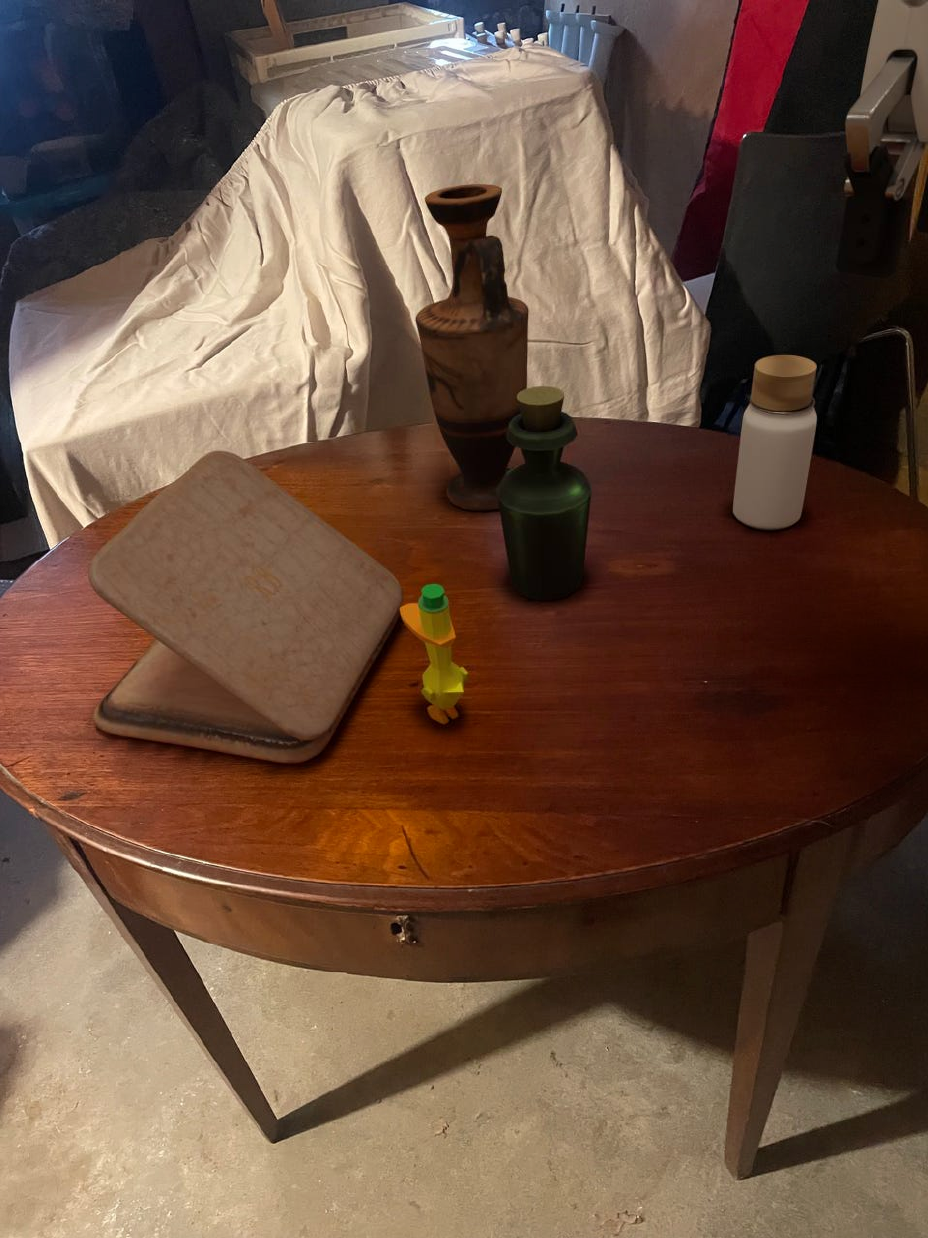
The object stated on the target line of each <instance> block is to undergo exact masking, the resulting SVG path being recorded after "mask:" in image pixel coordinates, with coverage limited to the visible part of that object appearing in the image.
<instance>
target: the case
mask: <svg viewBox="0 0 928 1238" xmlns="http://www.w3.org/2000/svg"><path fill="white" fill-rule="evenodd" d="M87 576H88V581H89V584H90V586H91V588H92V590H93V591H94V592H95V593H96V595H97V596H98V597H100V598H101V599H102V600H103V601H104V602H106V603H107V604H108V605H110V606H111V607H112V608H113V609H115V610H116V611H117V612H119V613H120V614H121V615H123V616H124V617H125V618H127V619H128V620H130V621H131V622H133V623H134V624H135V625H137V626H138V627H140V628H141V629H142V630H144V631H145V632H146V633H148V634H149V635H150V636H152V637H153V638H154V640H153V641H152V642H151V644H149V646H148V647H147V649H145V650H144V651H143V653H142V654H141V655H140V656H139V657H138V658H137V659H136V660H135V662H134V663H133V664H132V665H131V666H130V667H129V668H128V670H127V671H125V673H124V674H123V675H122V676H121V678H120V679H118V681H117V682H116V683H115V684H114V685H113V686H112V687H111V689H109V691H107V693H106V694H105V695H104V696H103V697H102V698H101V700H100V701H99V702H98V703H97V705H96V707H95V708H94V710H93V714H92V719H93V723H94V725H95V726H96V727H97V728H98V729H100V730H101V731H103V732H105V733H107V734H112V735H115V736H121V737H128V738H134V739H140V740H144V741H145V740H146V741H152V742H158V743H164V744H165V743H167V744H171V745H179V746H184V747H191V748H195V749H203V750H208V751H213V752H219V753H224V754H229V755H234V756H241V757H245V758H250V759H255V760H261V761H267V762H272V763H278V764H299V763H303V762H304V763H305V762H307V761H309V760H311V759H312V760H313V758H315V757H317V756H318V755H319V754H321V752H322V751H324V750H325V748H326V747H327V745H328V744H329V742H330V741H331V739H332V737H333V735H334V734H335V732H336V729H337V728H338V726H339V724H340V722H341V721H342V719H343V717H344V715H345V714H346V712H347V710H348V708H349V707H350V705H351V703H352V701H353V699H354V697H355V696H356V694H357V692H358V691H359V688H360V686H361V684H363V681H364V680H365V678H366V677H367V674H368V673H369V671H370V669H371V668H372V666H373V664H374V662H375V661H376V658H377V657H378V655H379V653H380V652H381V651H382V648H383V646H384V644H385V643H386V641H387V640H388V638H389V636H390V635H391V634H392V631H393V630H394V628H395V626H396V624H397V622H398V620H399V617H400V607H402V602H403V588H402V587H401V584H400V582H399V580H398V579H397V577H396V576H395V575H394V574H393V573H392V572H391V571H390V570H389V569H387V568H386V567H385V566H383V565H382V564H381V563H380V562H378V561H377V560H376V559H375V558H373V557H371V556H370V555H369V554H368V553H366V552H365V551H363V550H362V549H361V548H360V547H359V546H357V545H356V544H355V543H353V542H352V540H350V539H348V538H346V536H345V535H343V534H342V533H341V532H339V531H338V529H337V530H336V529H335V528H334V527H333V526H332V525H330V524H329V523H328V522H326V521H325V520H324V519H323V518H321V516H319V515H318V514H316V513H315V512H313V511H312V510H311V509H309V507H307V506H306V505H305V504H303V503H301V501H300V500H298V499H297V498H295V497H294V496H293V495H292V494H291V493H289V492H287V490H285V489H284V488H282V487H281V486H280V485H279V484H277V483H276V482H275V481H273V480H272V479H271V478H269V477H268V476H267V475H266V474H264V473H263V472H262V471H260V470H259V469H258V468H257V467H255V466H254V464H252V463H250V462H249V461H247V460H245V459H244V458H242V457H241V456H239V455H237V454H236V453H234V452H230V451H227V450H213V451H209V452H208V453H206V454H205V455H203V456H202V457H201V458H199V459H198V460H197V461H196V462H195V463H194V464H193V465H192V466H190V467H189V468H188V469H187V470H186V471H185V472H184V473H183V474H181V475H180V476H179V477H178V478H175V480H174V481H172V482H171V483H170V484H168V485H167V486H166V487H165V488H164V489H163V490H162V491H160V492H159V493H157V495H155V496H154V497H153V498H152V499H151V500H150V501H149V502H148V503H146V504H145V505H144V506H143V508H141V509H140V510H139V511H138V512H137V514H136V515H134V517H132V519H131V521H129V522H128V524H126V525H125V526H124V527H123V528H122V529H121V530H120V531H119V532H118V533H116V534H115V535H114V536H113V537H112V538H111V539H109V540H108V541H107V542H106V543H105V544H104V545H103V546H102V547H101V548H100V549H99V550H98V551H97V552H96V553H95V555H94V556H93V557H92V558H91V561H90V562H89V565H88V569H87Z"/></svg>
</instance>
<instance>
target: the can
mask: <svg viewBox="0 0 928 1238" xmlns="http://www.w3.org/2000/svg"><path fill="white" fill-rule="evenodd" d="M815 404H816V401H815V398H814V397H813V396H812V400H811V403H810V404H809V405H808V406H807V407H805V408H802V409H798V410H793V411H774V410H768V409H764V408H761V407H759V406H757V405H755V404H754V403H753V402H752V401H751V397H750V398H749V404H748V406H747V407H746V409H745V411H744V412H743V417H742V422H741V423H742V424H741V430H740V439H739V449H738V457H737V465H736V474H735V484H734V494H733V504H732V514H733V516H734V517H735V518H736V519H737V520H738V522H740V523H741V524H743V525H745V526H747V527H749V528H751V529H755V530H761V531H780V530H784V529H787V528H790V527H792V526H793V525H795V524H796V523H797V522H798V521H799V520H800V519H801V516H802V512H803V508H804V501H805V495H806V489H807V484H808V477H809V472H810V465H811V460H812V455H813V454H812V453H813V447H814V443H815V436H816V431H817V430H816V428H817V421H818V417H817V413H816V410H815V407H814V406H815Z"/></svg>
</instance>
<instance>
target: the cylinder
mask: <svg viewBox="0 0 928 1238" xmlns="http://www.w3.org/2000/svg"><path fill="white" fill-rule="evenodd" d="M817 369H818V368H817V363H816V362H814V361H813V360H812V359H809V358H807V357H804V356H799V355H793V354H774V355H769V356H765V357H762V358H760V359H758V360H757V361H756V362H755V364H754V370H753V377H752V378H753V379H752V386H751V395H750V398H751V401H752V402H753V403H754V404H755V405H757V406H759V407H761V408H764V409H768V410H774V411H793V410H798V409H802V408H805V407H807V406H808V405H809V404H810V403H811V400H812V397H813V392H814V386H815V380H816V374H817Z"/></svg>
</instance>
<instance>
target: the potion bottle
mask: <svg viewBox="0 0 928 1238" xmlns="http://www.w3.org/2000/svg"><path fill="white" fill-rule="evenodd" d="M517 400H518V403H519V407H520V411H521V414H519V415H517V416H515V417H514V418H513V419H512V420H511V422H510V423H509V427H508V430H507V434H506V436H507V441H508V442H509V443H511V444H512V445H513V446H515V448H519V449H520V451H521V454H522V457H523V460H524V463H522V464H519V465H516V466H515V467H514V468H511V469H512V470H510V471H508V472H507V473H506V474H505V476H504V477H503V479H502V480H501V482H500V484H499V486H498V488H497V498H498V504H499V509H498V510H499V516H500V522H501V527H502V533H503V534H502V535H503V539H504V540H503V541H504V546H505V552H506V558H507V564H508V570H509V576H510V577H509V578H510V582H511V586H512V587H513V589H515V591H517V593H518V594H520V595H522V596H524V597H526V598H528V599H531V600H536V601H554V600H559V599H562V598H565V597H568V596H570V595H571V594H572V593H574V592H575V591H577V589H579V588H580V586H581V583H582V581H583V579H584V578H583V577H584V570H585V569H584V567H585V558H586V548H587V538H588V529H589V519H590V509H591V501H592V500H591V499H592V487H591V485H590V481H589V479H588V478H587V476H586V475H585V473H584V472H583V471H582V470H581V469H579V468H578V467H577V466H575V465H572V464H569V463H567V462H563V461H561V460H562V458H563V457H562V456H563V453H564V449H565V446H567V445H570V444H571V443H573V442H575V440H576V438H577V437H578V436H579V433H578V430H577V427H576V424H575V421H574V419H573V417H572V415H570V414H568V413H567V412H564V411H562V410H563V405H564V402H565V401H564V400H565V391H564V390H562V389H561V388H559V387H555V386H552V385H551V386H550V385H538V386H531V387H527V389H524V390H522V391H521V392H519V393H518V395H517Z"/></svg>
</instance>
